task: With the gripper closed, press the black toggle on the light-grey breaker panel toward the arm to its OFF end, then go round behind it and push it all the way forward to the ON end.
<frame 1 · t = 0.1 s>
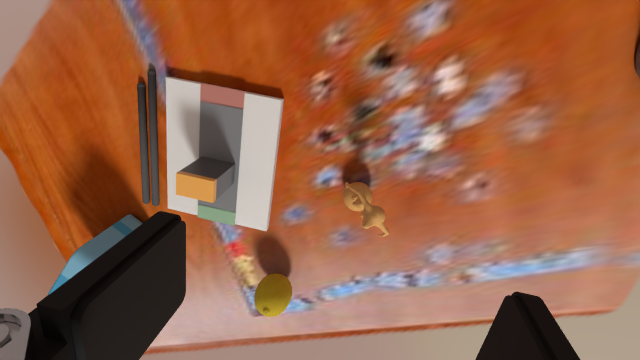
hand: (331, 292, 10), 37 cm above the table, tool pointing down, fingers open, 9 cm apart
figurine: (364, 186, 48), on the table
data package: (130, 240, 59), on the table
toggle: (207, 178, 46), point 5 cm above the table, slide at 1.5 cm
panel: (222, 156, 50), on the table
lemon: (280, 276, 57), on the table
cords: (155, 142, 51), on the table
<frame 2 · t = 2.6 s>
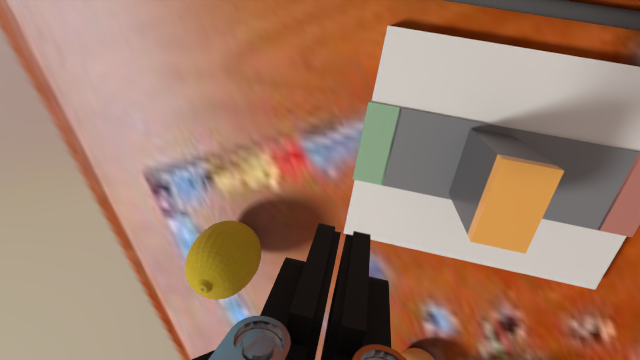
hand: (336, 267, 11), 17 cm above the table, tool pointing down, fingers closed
figurine: (420, 359, 34), on the table
toggle: (495, 184, 21), point 5 cm above the table, slide at 1.5 cm
panel: (495, 163, 26), on the table
lemon: (244, 231, 32), on the table
cords: (554, 9, 22), on the table
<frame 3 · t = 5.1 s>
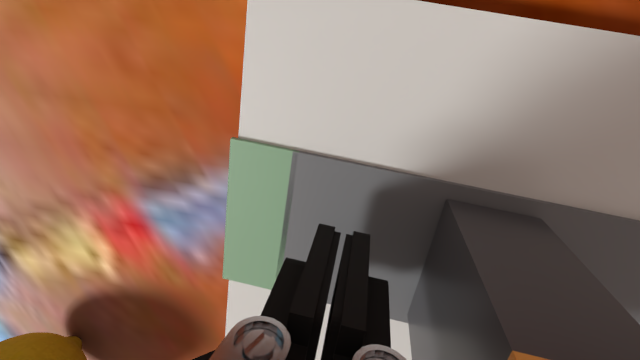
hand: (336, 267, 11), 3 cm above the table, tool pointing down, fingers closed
toggle: (499, 351, 9), point 5 cm above the table, slide at 1.2 cm, touching gripper
panel: (491, 254, 13), on the table
lemon: (80, 336, 19), on the table
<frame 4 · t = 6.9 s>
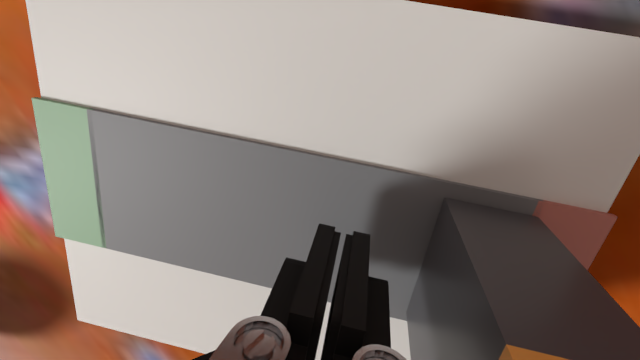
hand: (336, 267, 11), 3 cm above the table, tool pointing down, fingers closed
toggle: (496, 347, 9), point 5 cm above the table, slide at -6.4 cm, touching gripper
panel: (299, 211, 14), on the table
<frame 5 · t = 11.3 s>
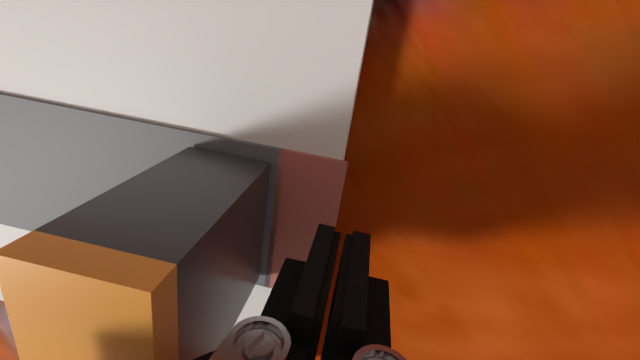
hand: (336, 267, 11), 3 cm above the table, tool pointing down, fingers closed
toggle: (178, 270, 10), point 5 cm above the table, slide at -6.0 cm, touching gripper
panel: (109, 171, 15), on the table
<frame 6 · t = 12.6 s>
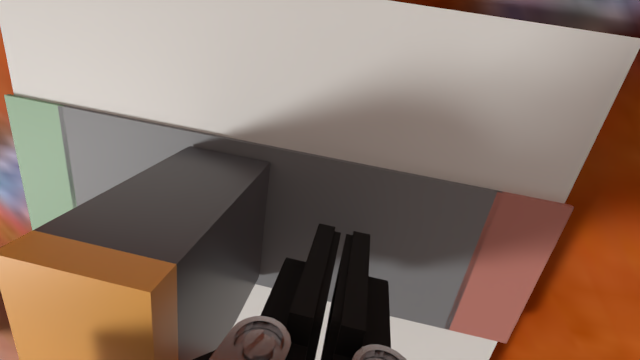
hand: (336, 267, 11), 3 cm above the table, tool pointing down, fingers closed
toggle: (178, 269, 10), point 5 cm above the table, slide at 1.3 cm, touching gripper
panel: (270, 205, 14), on the table
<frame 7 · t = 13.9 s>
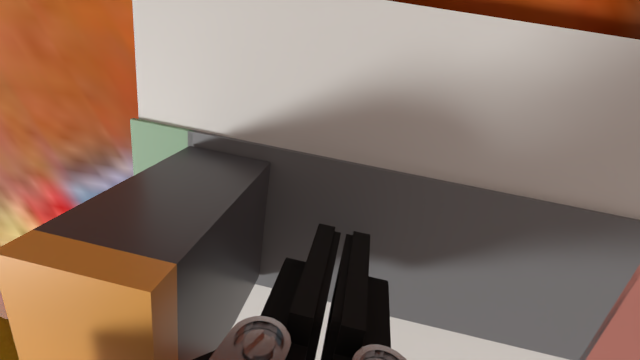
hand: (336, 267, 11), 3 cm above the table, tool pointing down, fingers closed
toggle: (178, 269, 10), point 5 cm above the table, slide at 6.4 cm, touching gripper
panel: (391, 231, 14), on the table
lemon: (25, 319, 20), on the table
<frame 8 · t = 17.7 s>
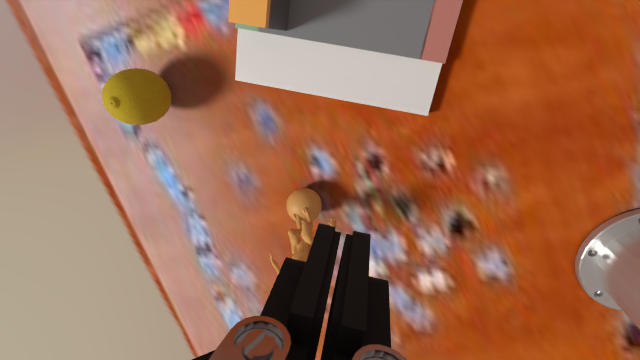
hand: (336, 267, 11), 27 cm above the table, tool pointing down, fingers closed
figurine: (312, 204, 41), on the table
panel: (344, 11, 33), on the table
lemon: (163, 91, 39), on the table
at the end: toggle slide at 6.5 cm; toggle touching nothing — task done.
